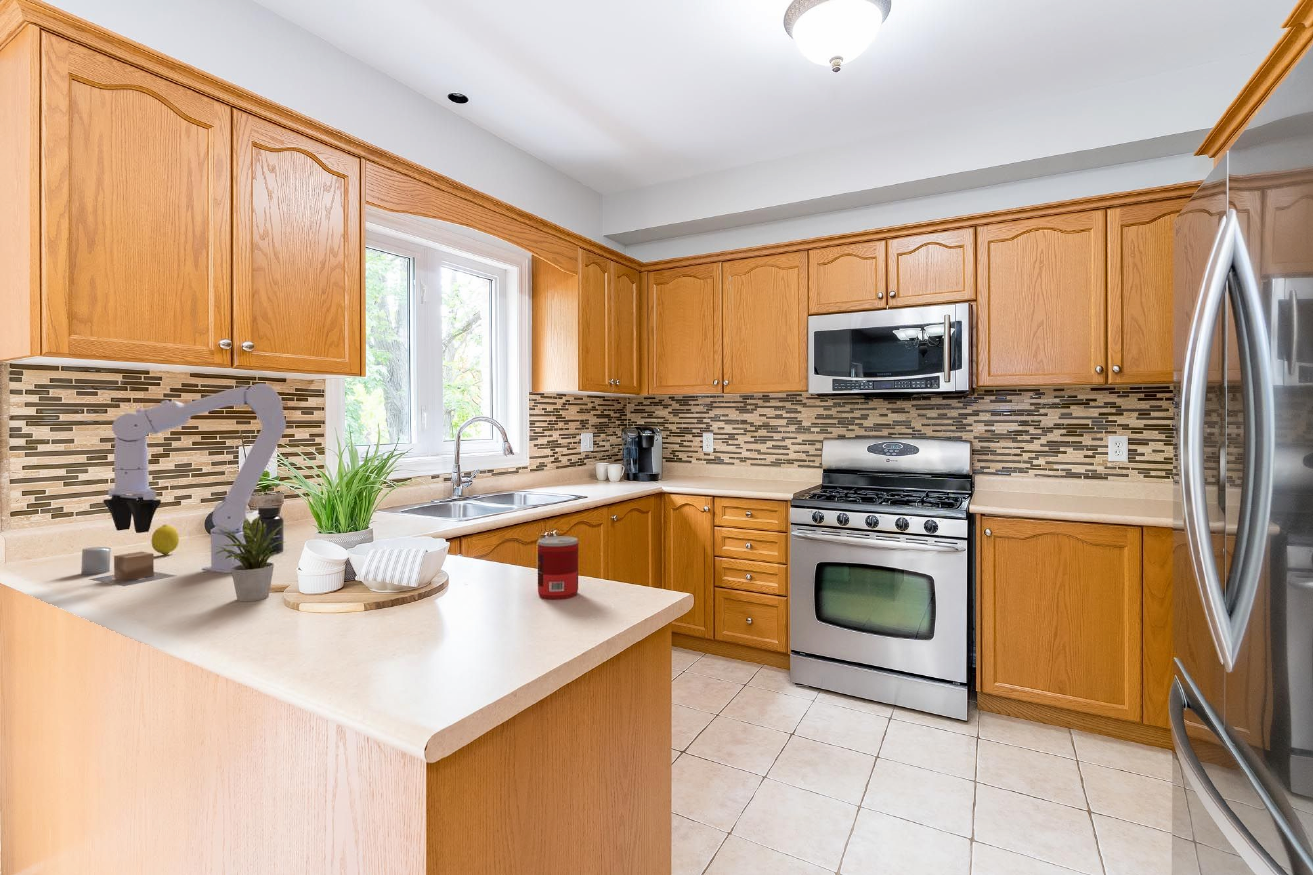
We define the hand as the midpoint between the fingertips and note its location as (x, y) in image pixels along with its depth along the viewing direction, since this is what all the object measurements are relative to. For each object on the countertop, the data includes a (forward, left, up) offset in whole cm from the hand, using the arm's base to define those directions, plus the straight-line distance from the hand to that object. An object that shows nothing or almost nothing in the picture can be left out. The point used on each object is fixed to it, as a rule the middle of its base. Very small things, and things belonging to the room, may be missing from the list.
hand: (132, 531), depth 137 cm
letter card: (0, 0, -10) cm, 10 cm away
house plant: (-38, -1, -11) cm, 39 cm away
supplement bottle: (+1, -31, -11) cm, 33 cm away
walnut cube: (0, 0, -10) cm, 10 cm away
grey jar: (+13, +1, -10) cm, 17 cm away
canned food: (-92, -28, -11) cm, 97 cm away
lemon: (+21, -17, -11) cm, 29 cm away
